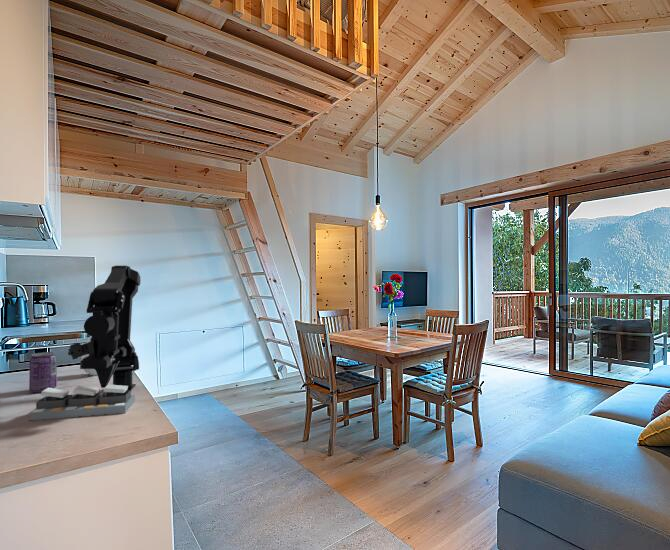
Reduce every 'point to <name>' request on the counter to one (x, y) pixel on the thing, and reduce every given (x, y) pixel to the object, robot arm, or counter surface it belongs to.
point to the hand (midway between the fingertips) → (103, 387)
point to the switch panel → (82, 405)
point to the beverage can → (42, 371)
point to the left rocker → (55, 392)
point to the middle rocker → (86, 390)
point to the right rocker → (115, 388)
